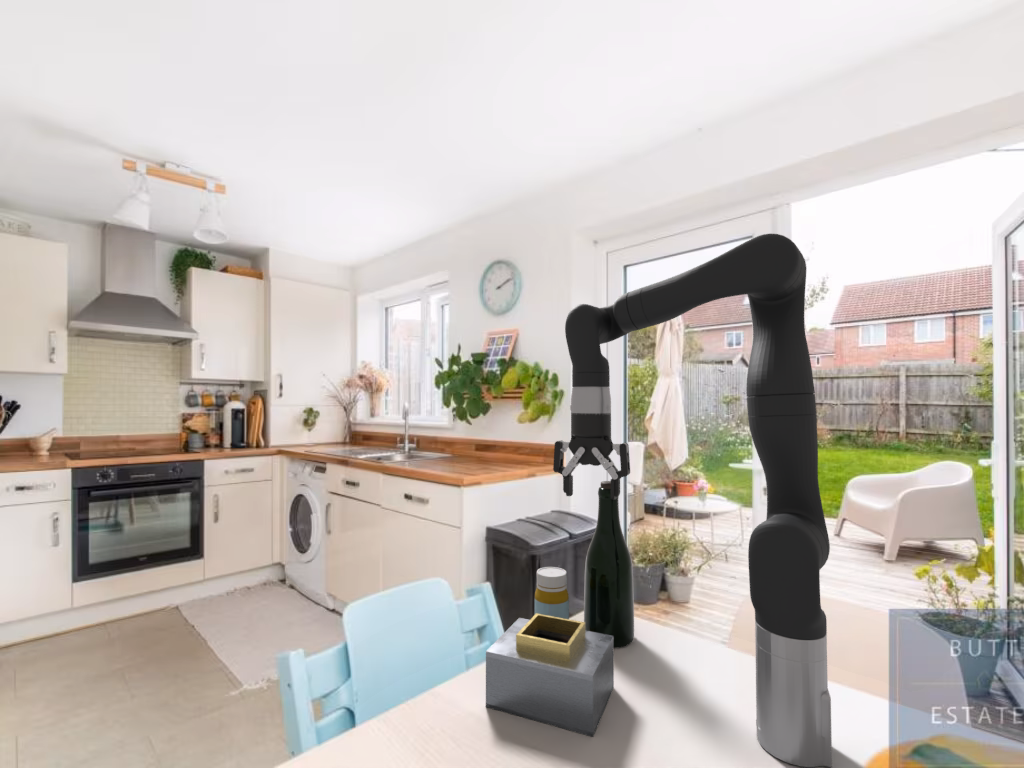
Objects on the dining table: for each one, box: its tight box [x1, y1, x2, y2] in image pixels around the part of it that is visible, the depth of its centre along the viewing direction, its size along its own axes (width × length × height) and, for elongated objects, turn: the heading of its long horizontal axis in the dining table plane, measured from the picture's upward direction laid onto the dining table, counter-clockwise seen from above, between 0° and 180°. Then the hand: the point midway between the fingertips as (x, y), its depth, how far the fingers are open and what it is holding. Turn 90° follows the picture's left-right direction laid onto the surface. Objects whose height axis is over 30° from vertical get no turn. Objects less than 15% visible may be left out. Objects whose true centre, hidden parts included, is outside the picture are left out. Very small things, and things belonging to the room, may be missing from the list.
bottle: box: [534, 566, 570, 619], centre depth 103 cm, size 7×7×15 cm
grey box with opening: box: [485, 613, 615, 738], centre depth 85 cm, size 18×14×12 cm
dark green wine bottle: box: [583, 480, 635, 649], centre depth 107 cm, size 10×10×33 cm
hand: (591, 497), depth 95 cm, fingers open, 8 cm apart
